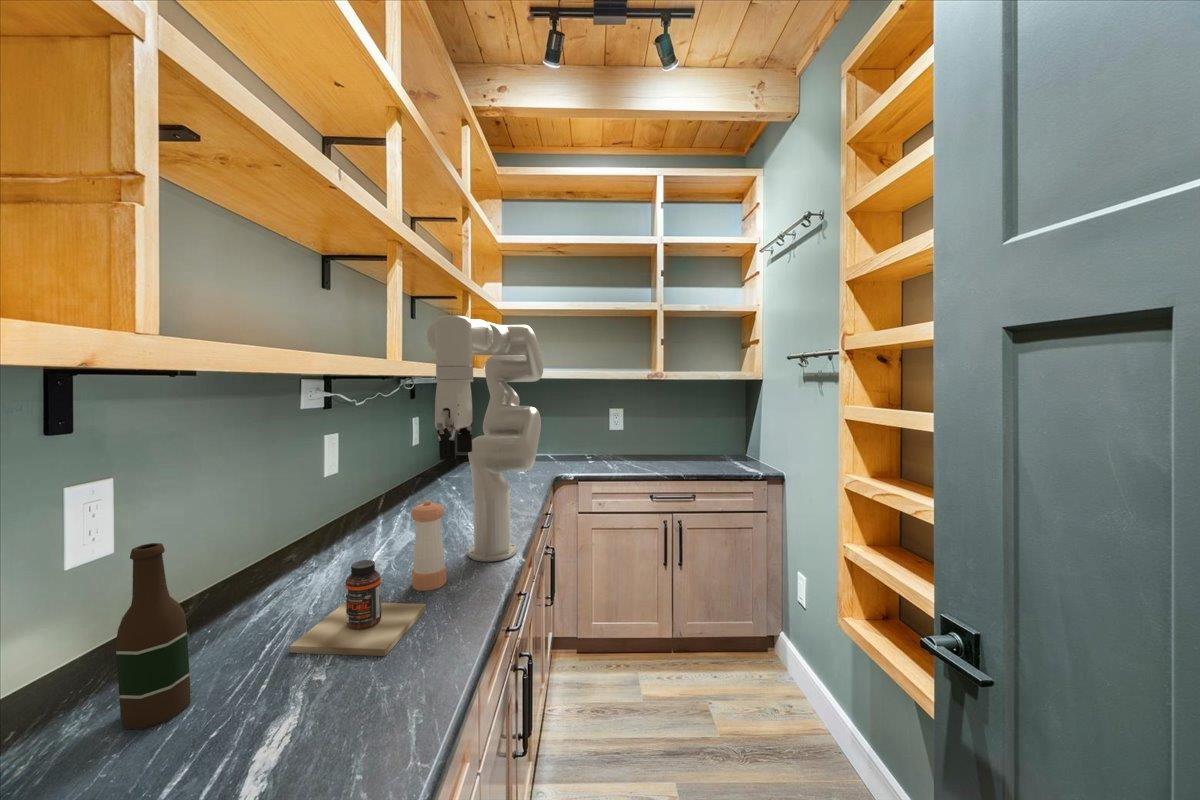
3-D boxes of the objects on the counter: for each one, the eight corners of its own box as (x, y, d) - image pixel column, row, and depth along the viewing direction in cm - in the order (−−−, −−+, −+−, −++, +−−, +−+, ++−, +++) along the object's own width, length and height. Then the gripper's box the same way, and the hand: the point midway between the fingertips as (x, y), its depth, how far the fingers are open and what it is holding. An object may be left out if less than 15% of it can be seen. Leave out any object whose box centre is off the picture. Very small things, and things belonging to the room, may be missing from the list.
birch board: (345, 607, 99) (345, 601, 99) (426, 609, 97) (425, 604, 97) (289, 652, 83) (289, 645, 83) (385, 656, 82) (385, 649, 81)
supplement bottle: (343, 633, 87) (340, 571, 86) (350, 617, 92) (348, 559, 92) (379, 628, 88) (377, 567, 88) (384, 612, 94) (382, 555, 93)
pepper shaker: (446, 588, 107) (444, 503, 106) (411, 592, 105) (408, 506, 104) (446, 575, 114) (444, 495, 113) (413, 579, 112) (411, 498, 111)
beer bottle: (178, 723, 66) (167, 552, 65) (105, 738, 63) (92, 560, 62) (203, 688, 73) (194, 534, 72) (138, 700, 71) (127, 540, 69)
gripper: (452, 375, 110) (454, 449, 111) (419, 375, 93) (421, 463, 94) (484, 375, 110) (486, 449, 111) (457, 375, 93) (459, 463, 94)
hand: (456, 455), depth 102 cm, fingers open, 9 cm apart
